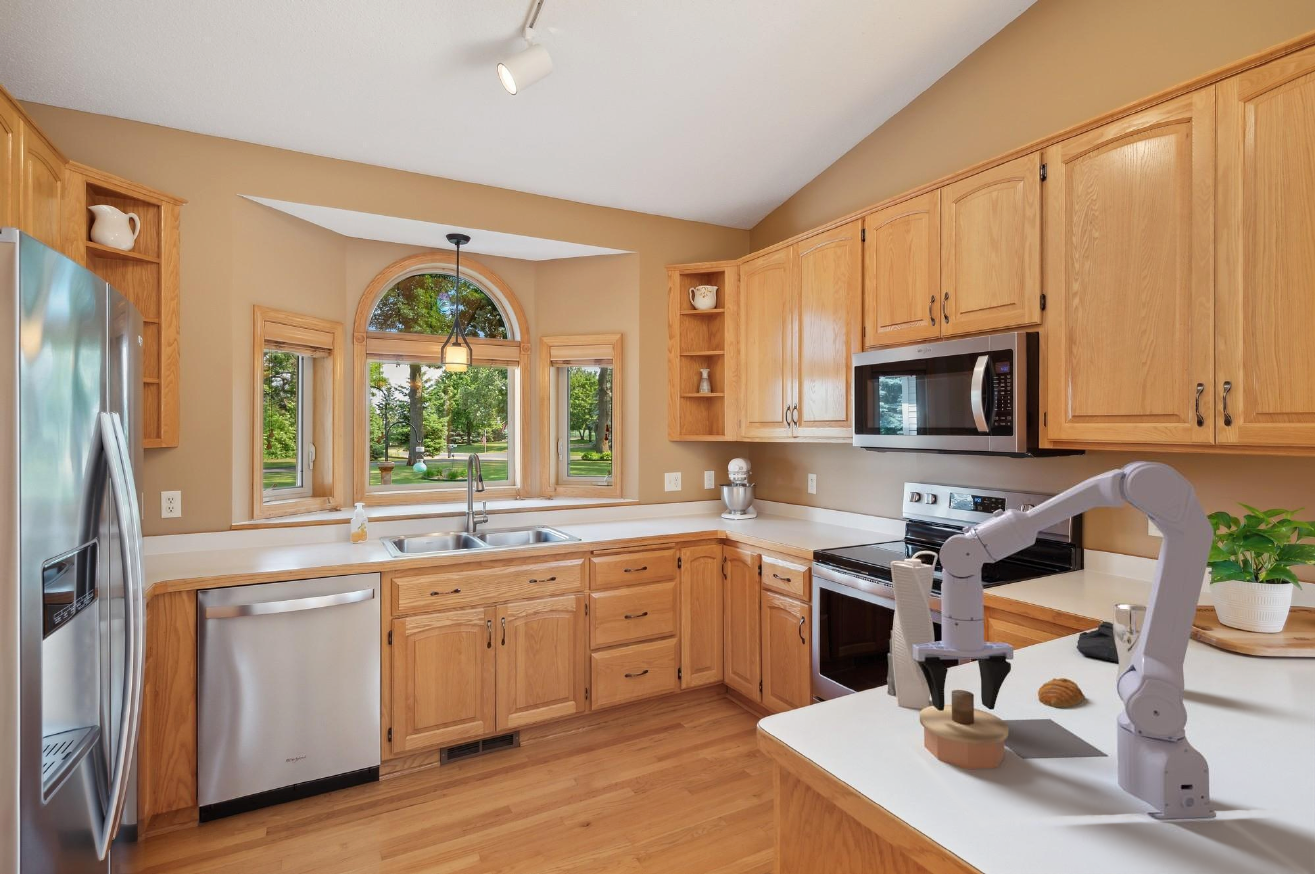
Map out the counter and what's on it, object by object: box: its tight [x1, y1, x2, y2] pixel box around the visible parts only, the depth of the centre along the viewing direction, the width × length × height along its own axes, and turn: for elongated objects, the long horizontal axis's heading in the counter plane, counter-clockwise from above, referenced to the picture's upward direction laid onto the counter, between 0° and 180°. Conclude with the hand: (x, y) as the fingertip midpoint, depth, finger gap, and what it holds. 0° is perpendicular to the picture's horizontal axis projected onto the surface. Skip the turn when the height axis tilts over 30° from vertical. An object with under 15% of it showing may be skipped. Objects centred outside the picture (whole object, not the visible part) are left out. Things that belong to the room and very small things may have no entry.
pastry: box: [1037, 677, 1086, 709], centre depth 117 cm, size 9×7×4 cm
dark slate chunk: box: [1076, 621, 1119, 664], centre depth 148 cm, size 15×22×5 cm
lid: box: [919, 689, 1009, 744], centre depth 97 cm, size 12×12×5 cm
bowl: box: [923, 727, 1005, 770], centre depth 97 cm, size 10×10×4 cm
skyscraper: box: [886, 550, 939, 710], centre depth 116 cm, size 8×8×28 cm
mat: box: [1002, 718, 1109, 760], centre depth 101 cm, size 13×13×1 cm
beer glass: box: [1112, 602, 1147, 682], centre depth 126 cm, size 7×7×15 cm
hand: (963, 707), depth 97 cm, fingers open, 7 cm apart
